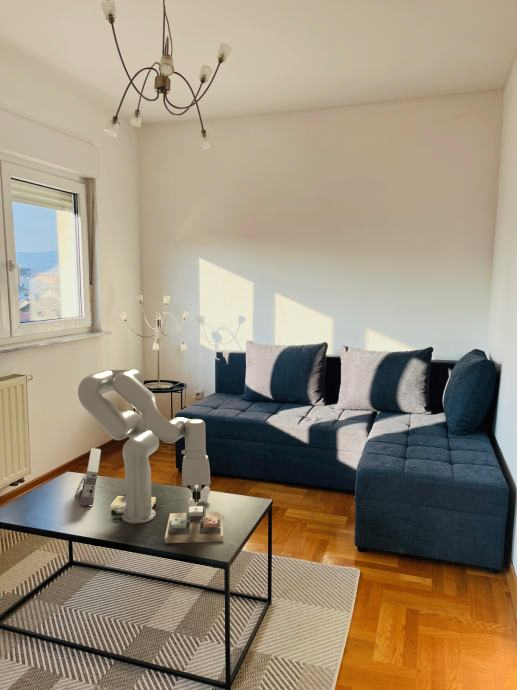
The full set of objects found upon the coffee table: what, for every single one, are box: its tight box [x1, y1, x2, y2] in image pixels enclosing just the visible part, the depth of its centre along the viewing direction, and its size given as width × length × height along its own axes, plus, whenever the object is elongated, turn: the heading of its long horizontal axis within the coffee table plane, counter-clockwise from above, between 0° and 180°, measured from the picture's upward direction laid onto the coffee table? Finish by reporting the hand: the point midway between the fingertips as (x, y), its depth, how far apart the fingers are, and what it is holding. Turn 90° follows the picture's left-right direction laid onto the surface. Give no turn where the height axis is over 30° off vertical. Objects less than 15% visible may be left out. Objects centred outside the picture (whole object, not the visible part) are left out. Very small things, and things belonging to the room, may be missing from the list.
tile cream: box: [188, 505, 204, 516], centre depth 199 cm, size 5×5×2 cm
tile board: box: [164, 507, 224, 544], centre depth 194 cm, size 20×20×4 cm
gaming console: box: [75, 447, 102, 507], centre depth 221 cm, size 23×8×20 cm, turn 15°
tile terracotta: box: [203, 517, 218, 528], centre depth 190 cm, size 5×5×2 cm
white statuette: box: [187, 485, 211, 507], centre depth 215 cm, size 6×8×12 cm
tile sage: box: [171, 518, 187, 529], centre depth 189 cm, size 5×5×2 cm
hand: (196, 500), depth 199 cm, fingers closed
